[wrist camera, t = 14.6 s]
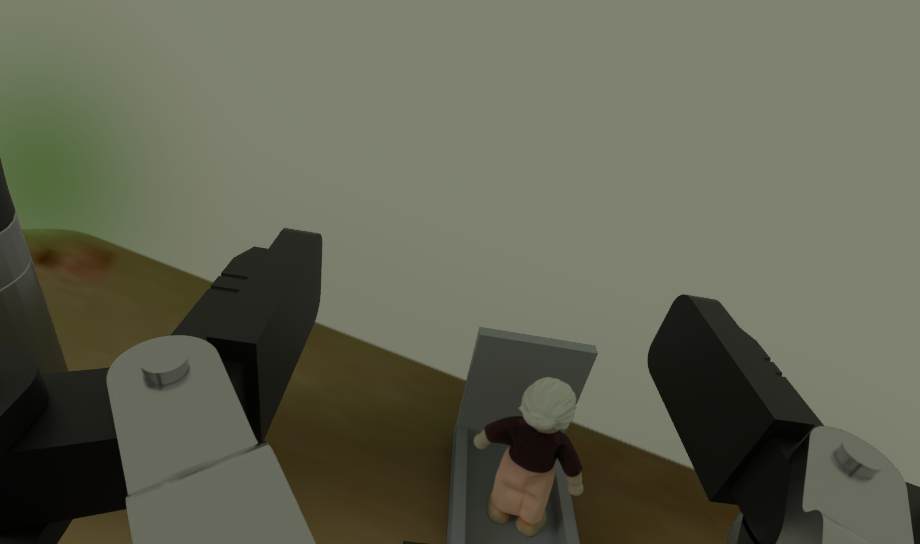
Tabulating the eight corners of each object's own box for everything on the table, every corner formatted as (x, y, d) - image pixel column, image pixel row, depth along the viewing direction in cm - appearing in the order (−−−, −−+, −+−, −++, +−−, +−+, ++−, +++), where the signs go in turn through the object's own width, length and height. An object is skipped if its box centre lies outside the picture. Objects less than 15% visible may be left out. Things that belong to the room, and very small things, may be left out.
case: (443, 599, 30) (479, 480, 24) (452, 436, 41) (479, 326, 35) (578, 616, 30) (647, 504, 24) (551, 450, 42) (595, 345, 35)
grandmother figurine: (559, 500, 37) (615, 380, 30) (559, 549, 33) (621, 426, 27) (463, 473, 37) (497, 349, 31) (453, 518, 34) (489, 390, 27)
